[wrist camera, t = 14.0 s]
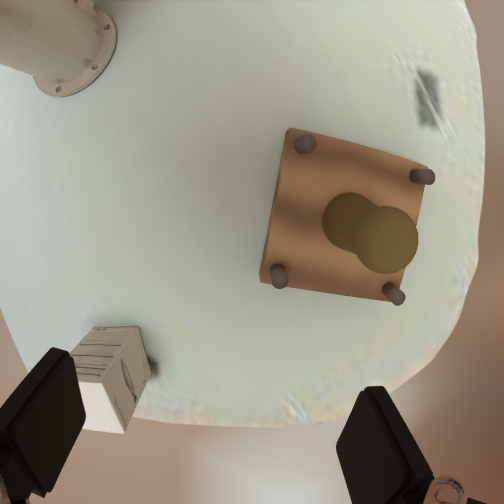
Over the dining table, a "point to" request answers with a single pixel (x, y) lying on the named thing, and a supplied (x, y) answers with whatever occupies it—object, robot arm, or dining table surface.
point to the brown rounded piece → (371, 232)
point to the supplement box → (111, 376)
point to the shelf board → (314, 203)
